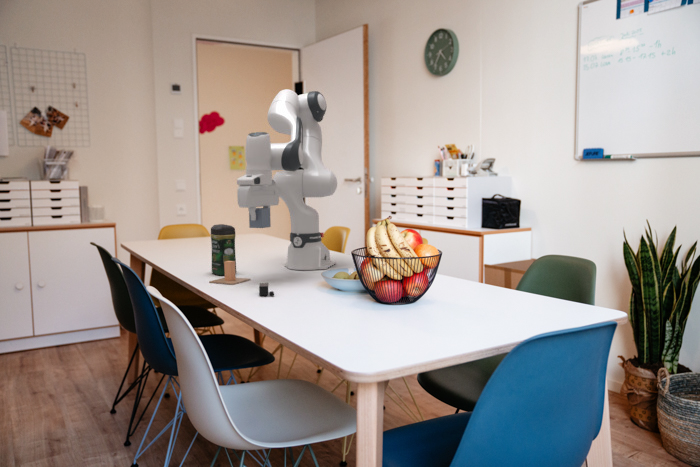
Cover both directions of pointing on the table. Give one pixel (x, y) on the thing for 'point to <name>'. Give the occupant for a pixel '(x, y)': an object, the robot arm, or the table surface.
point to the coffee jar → (222, 247)
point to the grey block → (260, 218)
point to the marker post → (229, 275)
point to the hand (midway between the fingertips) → (259, 219)
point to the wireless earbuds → (264, 290)
